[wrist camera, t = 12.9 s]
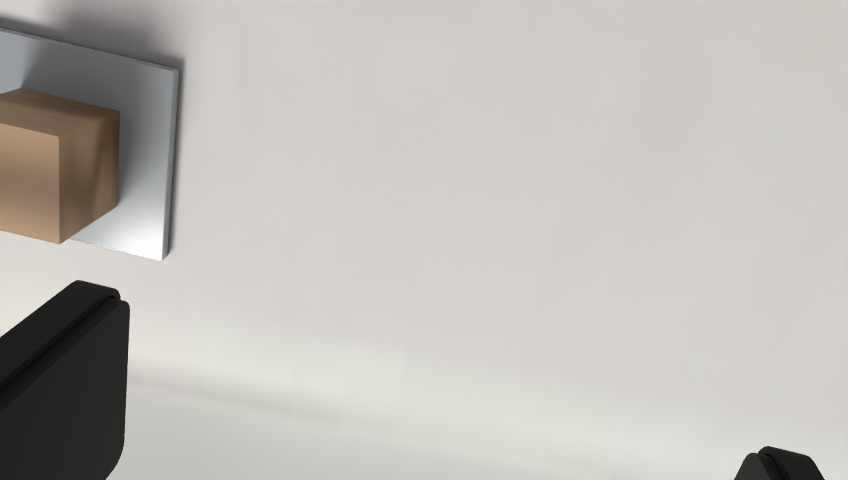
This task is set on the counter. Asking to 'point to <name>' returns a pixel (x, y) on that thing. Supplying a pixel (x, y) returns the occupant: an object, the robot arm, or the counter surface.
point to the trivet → (138, 138)
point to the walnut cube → (55, 164)
